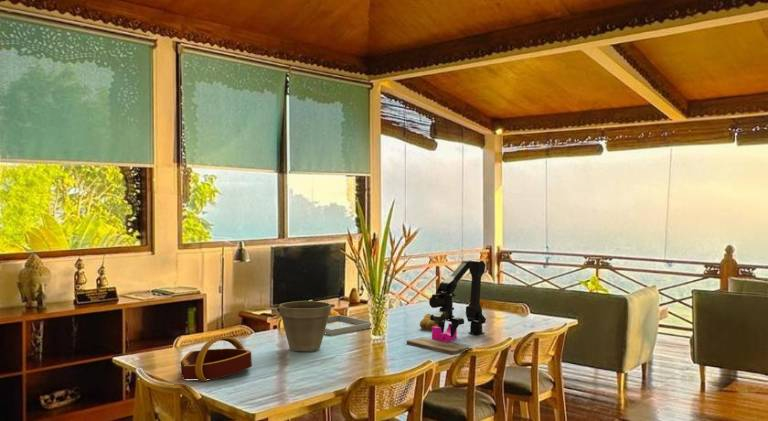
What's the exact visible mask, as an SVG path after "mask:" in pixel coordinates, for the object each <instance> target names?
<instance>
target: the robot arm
mask: <svg viewBox="0 0 768 421" xmlns="http://www.w3.org/2000/svg"><path fill="white" fill-rule="evenodd" d="M485 270H486V263H485V262H484V260H479V259H471V260H468V259H464V260H462V261H461V262H460V264H459V265H458V267H456V269H455V270H454V271H453V273H452V274H450V275H449V276H448V277H446V278H444V279H442V280H441V281H440V283H439V285H438V288H437V290H436V292H435V293H433V294H432V295H431V297H430V298H429V300H428V301H429V302H428V304H429V306H430V308H432V309H436V308H437V309H438V308H439V311H438V312H436V313H433V314H431V317H430V320H432V321H434V322H435V323H436V324H437V325H438V327H441V330H442V332H443V333H445V325H446V322H450V323H452V324H449V323H448V325H449V326H450V327H451V337H453V335H454V333H455V331H456V329H458V327H459V326H460V325H464V324H465V319H464V318H463V317H455V315H453V312H454V311H453V310H455V307H454V306H453V302H454V301H453V300H454V299H453V297H454V298H455V297H456V296H457V295H456V294H455V293H454V292H455V290H456V289H457V286H458V283H459V281H461V280H460V279H462V277H463V276H464V275H465V274H466V273H467V272H468V271H469V273H470V275H471V283H470V284H471V285H470V298H469V299H470V301H469V304H468V305H466V306H465V316H466V320H467V322H468V323H469V322H470V326H469V327H470V329H469V332H468V334H470V335H475V336H479V335H484V334H485V332H483V324H485V323H486V320H487V318H486V317H485V316H484V314H483V309H482V306H481V305H480V302H481V301H480V299H481V288H482V287H481V285H482V277H483V275H484V274H485Z"/></svg>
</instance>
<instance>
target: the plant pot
mask: <svg viewBox="0 0 768 421" xmlns="http://www.w3.org/2000/svg"><path fill="white" fill-rule="evenodd" d="M278 309H279V310H278V311H279V316H280V317H281V320H282V326H283V328H284V332H285V335H286V336H285V337H286V339H287V345H288V348H289V350H290V349H291V351H292V350H294V351H293V352H296V351H311V352H315V351H314V350H316V351H318V350H317V349H319V348H320V349H321V346H322V342H323V338H324V335H325V334H324V332H325V328H327V327H326V326H327V324H328V322H327V320H328V317H329V316H331V312H332V311H331V310H332V304H331V303H329V302H325V301H315V300H301V301H297V300H296V301H290V302H282V303H280V304H279V305H278ZM320 349H319V350H320Z"/></svg>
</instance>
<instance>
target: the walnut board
mask: <svg viewBox="0 0 768 421" xmlns="http://www.w3.org/2000/svg"><path fill="white" fill-rule="evenodd" d="M406 345H411V346H415V347H419V348H423V349H428V350H433V351H434V352H440V353H444V354H448V355H455V354H459V353H463V352H462V351H464V350H466V349H469V348H470V347H469V346H465V345H461V344H456V343H451V342H443V341H438V340H433V339H432V338H428V337H424V336H423V337H418V338H413V339H407V340H406ZM464 352H465V351H464Z"/></svg>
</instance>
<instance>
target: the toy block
mask: <svg viewBox="0 0 768 421" xmlns="http://www.w3.org/2000/svg"><path fill="white" fill-rule="evenodd" d="M449 324H452V323H451V322H450V323H448V326H447V328H446V331H444V333H443V332H442V330H441V327H437V326H434V327H432V330H431V339H433V340H438V341H443V342H447V343H450V342H454V341H455V339H457V338H458V336H457V332H458V330H457V329H458V328H457V329H456V331H455V333H454V335H453V337H451V327H450V326H449ZM453 340H454V341H453Z"/></svg>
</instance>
